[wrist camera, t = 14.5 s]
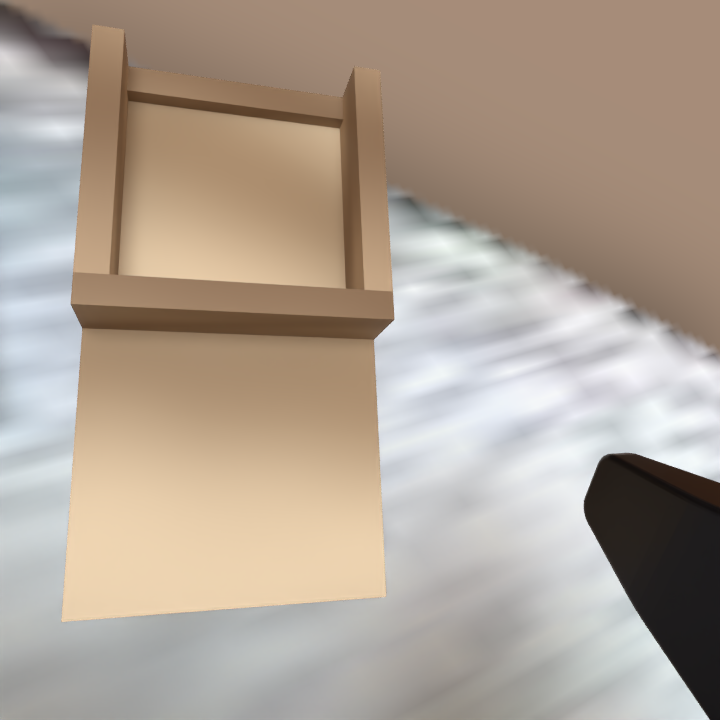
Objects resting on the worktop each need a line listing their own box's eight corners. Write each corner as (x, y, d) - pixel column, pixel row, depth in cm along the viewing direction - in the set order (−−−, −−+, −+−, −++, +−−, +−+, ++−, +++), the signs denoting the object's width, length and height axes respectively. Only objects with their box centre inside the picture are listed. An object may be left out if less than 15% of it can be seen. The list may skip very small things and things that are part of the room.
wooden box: (291, 565, 19) (411, 604, 9) (119, 576, 18) (44, 635, 8) (288, 280, 22) (379, 70, 12) (134, 271, 20) (92, 24, 10)
